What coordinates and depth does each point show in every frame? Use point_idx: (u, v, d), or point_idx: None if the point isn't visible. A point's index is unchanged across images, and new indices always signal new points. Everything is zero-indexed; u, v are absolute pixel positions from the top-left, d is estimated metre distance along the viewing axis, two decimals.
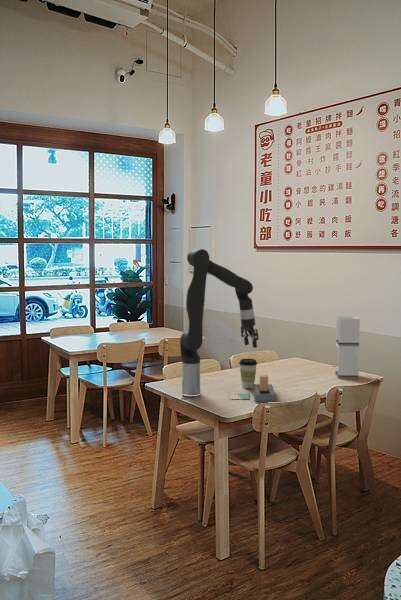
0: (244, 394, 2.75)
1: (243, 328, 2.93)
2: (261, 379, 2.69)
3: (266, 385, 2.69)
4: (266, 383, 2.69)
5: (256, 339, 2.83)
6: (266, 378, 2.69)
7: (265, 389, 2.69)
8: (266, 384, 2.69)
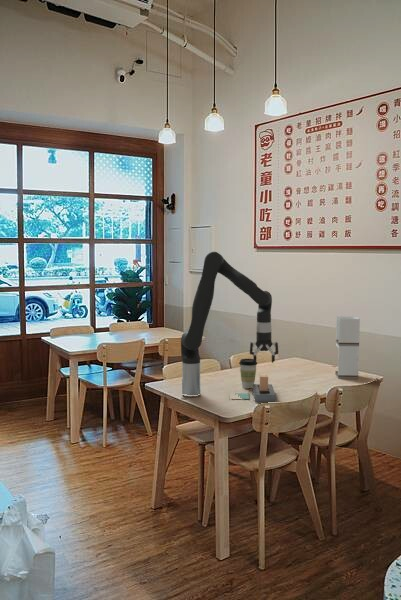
0: (244, 394, 2.75)
1: None
2: (261, 379, 2.69)
3: (266, 385, 2.69)
4: (266, 383, 2.69)
5: None
6: (266, 378, 2.69)
7: (265, 389, 2.69)
8: (266, 384, 2.69)
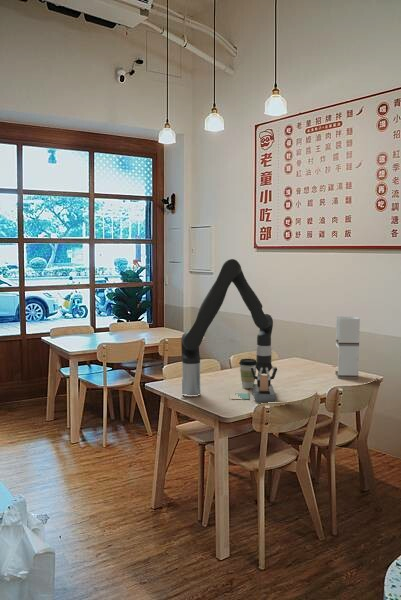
0: (244, 394, 2.75)
1: None
2: (261, 379, 2.69)
3: (266, 385, 2.69)
4: (266, 383, 2.69)
5: None
6: (266, 378, 2.69)
7: (265, 389, 2.69)
8: (266, 384, 2.69)
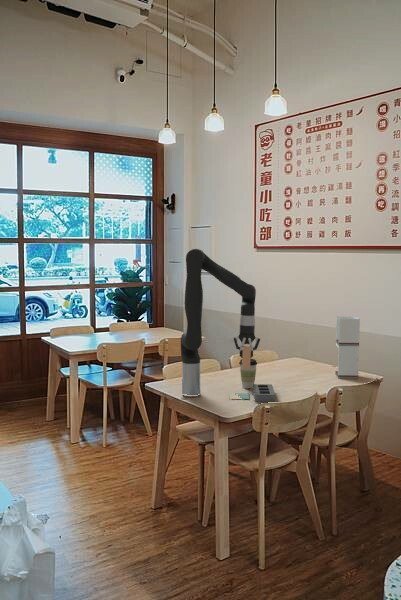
0: (244, 394, 2.75)
1: None
2: (244, 349, 2.67)
3: (248, 355, 2.68)
4: (248, 353, 2.68)
5: (236, 347, 2.70)
6: (249, 348, 2.67)
7: (247, 359, 2.68)
8: (248, 354, 2.68)
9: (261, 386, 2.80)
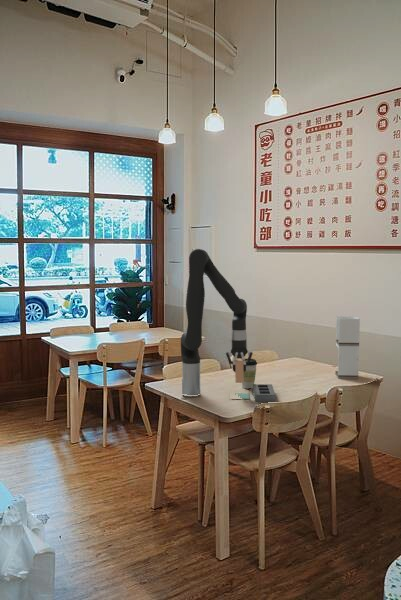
0: (244, 394, 2.75)
1: None
2: (236, 364, 2.69)
3: (241, 370, 2.69)
4: (241, 368, 2.69)
5: (229, 362, 2.71)
6: (241, 363, 2.69)
7: (240, 374, 2.69)
8: (241, 369, 2.69)
9: (261, 386, 2.80)
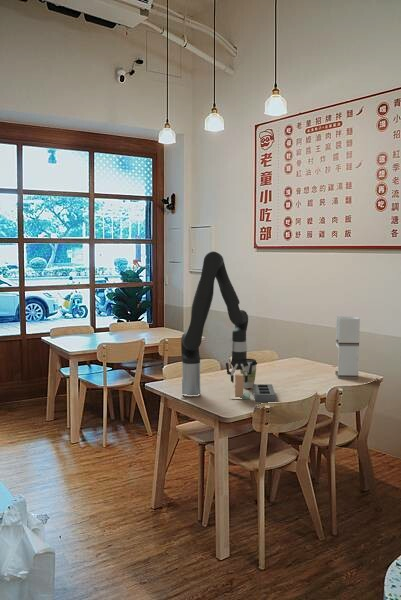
0: (244, 394, 2.75)
1: None
2: (236, 378, 2.69)
3: (241, 384, 2.69)
4: (241, 382, 2.69)
5: (227, 372, 2.71)
6: (241, 377, 2.69)
7: (240, 388, 2.70)
8: (241, 383, 2.69)
9: (261, 386, 2.80)
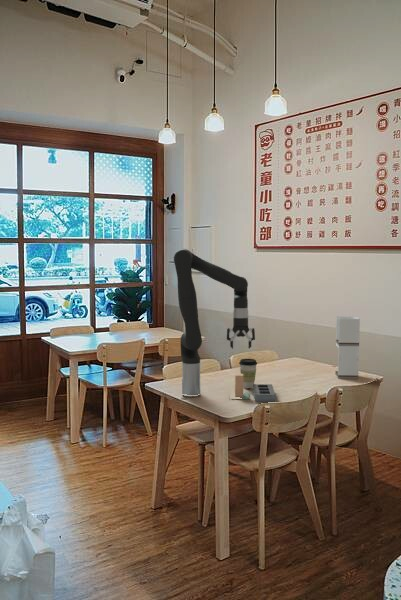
0: (244, 394, 2.75)
1: None
2: (236, 378, 2.69)
3: (241, 384, 2.69)
4: (241, 382, 2.69)
5: None
6: (241, 377, 2.69)
7: (240, 388, 2.70)
8: (241, 383, 2.69)
9: (261, 386, 2.80)
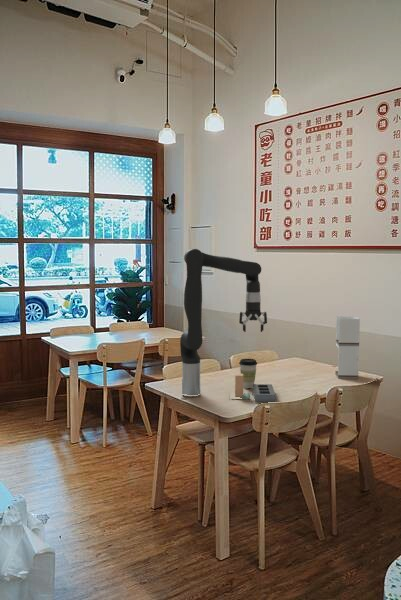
0: (244, 394, 2.75)
1: None
2: (236, 378, 2.69)
3: (241, 384, 2.69)
4: (241, 382, 2.69)
5: (239, 322, 2.78)
6: (241, 377, 2.69)
7: (240, 388, 2.70)
8: (241, 383, 2.69)
9: (261, 386, 2.80)
